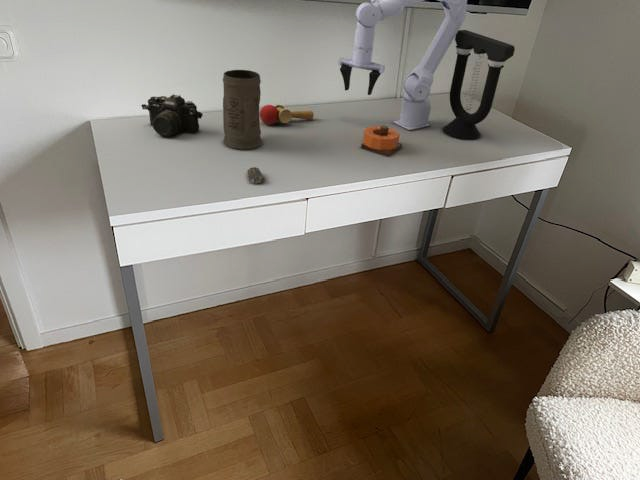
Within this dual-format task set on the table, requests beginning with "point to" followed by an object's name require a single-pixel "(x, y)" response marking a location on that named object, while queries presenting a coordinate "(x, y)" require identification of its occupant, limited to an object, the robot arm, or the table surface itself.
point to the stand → (384, 152)
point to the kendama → (282, 114)
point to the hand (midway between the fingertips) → (358, 91)
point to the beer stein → (241, 109)
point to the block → (255, 175)
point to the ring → (380, 138)
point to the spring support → (497, 56)
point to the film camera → (172, 115)
